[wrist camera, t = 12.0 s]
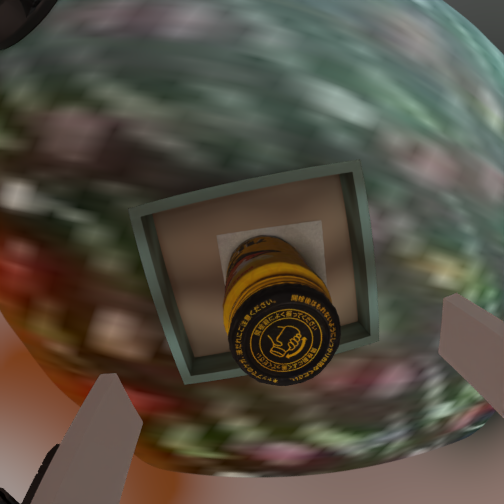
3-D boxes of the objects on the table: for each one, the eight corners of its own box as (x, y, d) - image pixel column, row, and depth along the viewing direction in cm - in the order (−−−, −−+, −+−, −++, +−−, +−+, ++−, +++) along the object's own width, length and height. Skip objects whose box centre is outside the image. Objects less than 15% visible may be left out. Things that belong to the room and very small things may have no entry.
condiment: (216, 235, 24) (196, 283, 12) (320, 219, 24) (393, 251, 12) (231, 318, 25) (228, 415, 14) (327, 302, 25) (386, 383, 14)
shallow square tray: (156, 202, 28) (127, 208, 20) (328, 165, 28) (360, 159, 20) (195, 340, 31) (184, 384, 23) (348, 306, 31) (379, 340, 23)
